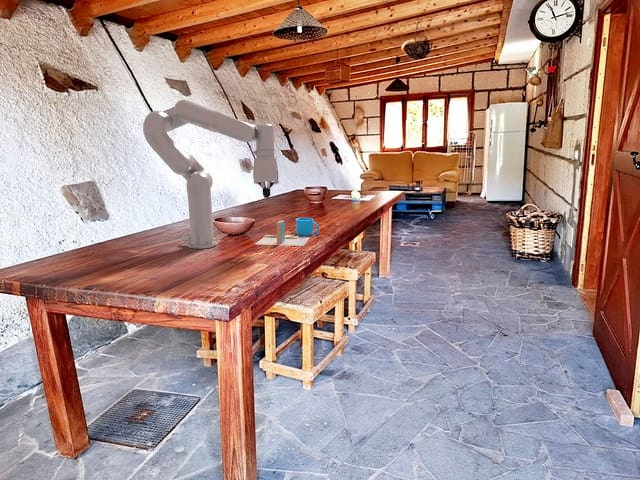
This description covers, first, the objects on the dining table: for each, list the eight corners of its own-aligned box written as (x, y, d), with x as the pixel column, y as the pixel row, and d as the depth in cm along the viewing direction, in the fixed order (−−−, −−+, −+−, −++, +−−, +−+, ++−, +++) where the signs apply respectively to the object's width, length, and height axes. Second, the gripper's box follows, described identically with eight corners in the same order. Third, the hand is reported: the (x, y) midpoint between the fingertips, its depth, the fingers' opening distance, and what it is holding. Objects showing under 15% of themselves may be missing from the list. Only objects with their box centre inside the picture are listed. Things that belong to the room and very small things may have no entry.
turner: (262, 237, 213) (262, 236, 212) (265, 235, 217) (265, 234, 217) (297, 238, 210) (297, 237, 210) (299, 236, 215) (299, 235, 215)
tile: (276, 243, 201) (276, 222, 199) (280, 240, 208) (280, 220, 206) (281, 243, 201) (281, 223, 199) (284, 240, 208) (284, 220, 206)
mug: (292, 236, 221) (292, 219, 219) (302, 233, 228) (301, 217, 226) (314, 239, 215) (314, 222, 214) (323, 236, 222) (323, 219, 221)
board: (254, 246, 200) (254, 244, 200) (265, 238, 218) (265, 235, 217) (303, 248, 197) (303, 245, 197) (310, 239, 215) (310, 237, 214)
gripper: (245, 154, 195) (247, 198, 198) (280, 154, 193) (281, 198, 196) (250, 153, 202) (252, 196, 206) (284, 153, 200) (285, 196, 204)
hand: (266, 197), depth 201 cm, fingers closed
